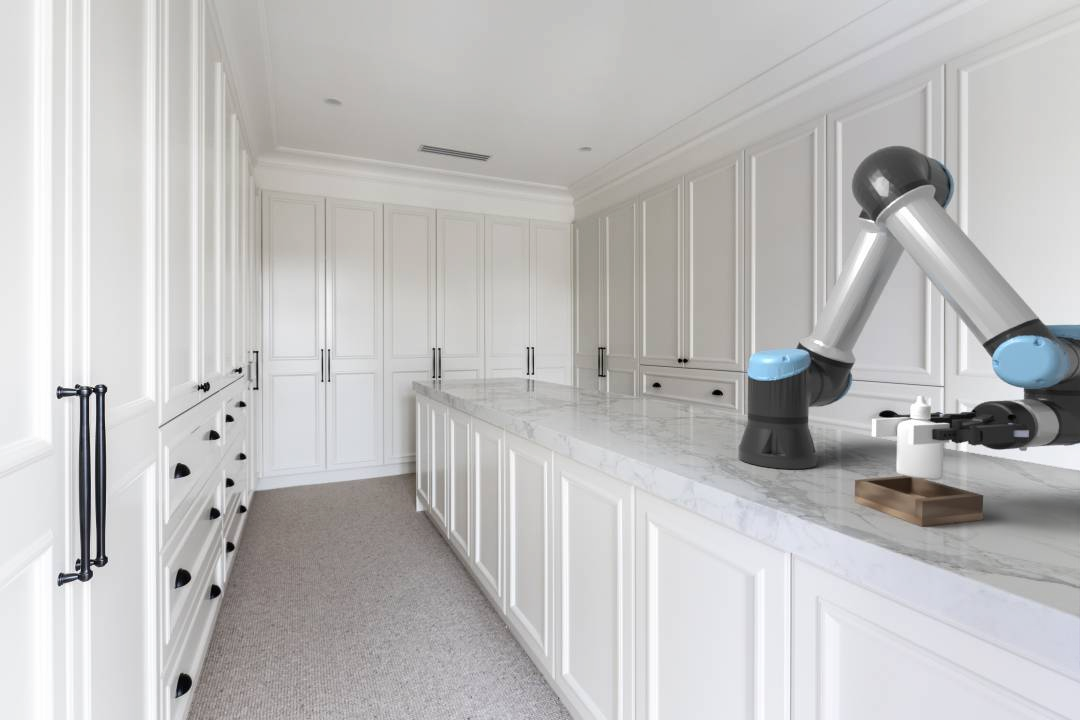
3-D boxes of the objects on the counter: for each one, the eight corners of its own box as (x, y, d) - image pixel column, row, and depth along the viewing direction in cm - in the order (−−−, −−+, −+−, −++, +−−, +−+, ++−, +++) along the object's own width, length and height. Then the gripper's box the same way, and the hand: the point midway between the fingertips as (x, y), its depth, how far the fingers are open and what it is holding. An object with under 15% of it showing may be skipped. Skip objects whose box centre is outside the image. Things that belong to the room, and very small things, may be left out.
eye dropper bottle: (908, 470, 80) (909, 393, 80) (949, 479, 75) (950, 397, 74) (890, 473, 78) (891, 395, 78) (931, 482, 73) (933, 398, 73)
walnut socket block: (854, 501, 81) (855, 479, 81) (909, 496, 84) (910, 475, 84) (921, 526, 70) (922, 501, 70) (982, 519, 73) (983, 495, 73)
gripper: (1083, 460, 72) (955, 471, 66) (950, 437, 90) (840, 444, 84) (1084, 407, 72) (956, 414, 66) (951, 394, 89) (841, 399, 84)
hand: (892, 431), depth 75 cm, fingers closed on eye dropper bottle, 5 cm apart
